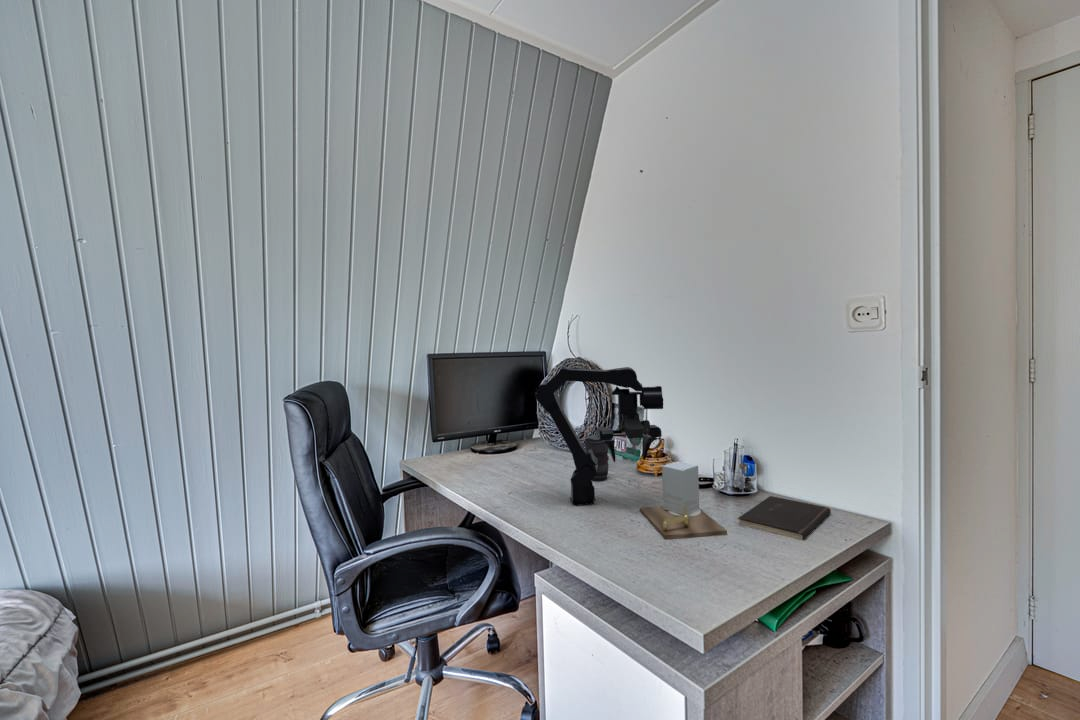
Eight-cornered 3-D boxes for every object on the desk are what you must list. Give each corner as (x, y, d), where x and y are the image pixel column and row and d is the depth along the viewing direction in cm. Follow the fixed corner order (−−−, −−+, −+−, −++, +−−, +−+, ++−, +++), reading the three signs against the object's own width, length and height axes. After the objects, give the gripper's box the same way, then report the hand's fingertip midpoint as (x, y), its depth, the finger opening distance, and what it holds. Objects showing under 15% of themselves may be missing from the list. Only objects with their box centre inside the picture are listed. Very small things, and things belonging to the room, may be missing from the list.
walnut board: (664, 539, 122) (664, 534, 122) (639, 511, 141) (639, 506, 141) (727, 534, 123) (726, 529, 123) (693, 507, 143) (693, 503, 143)
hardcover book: (737, 526, 130) (737, 517, 130) (770, 503, 146) (770, 495, 146) (803, 543, 118) (803, 533, 118) (830, 516, 135) (830, 507, 134)
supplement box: (700, 509, 138) (699, 465, 137) (683, 516, 133) (682, 470, 133) (678, 503, 143) (677, 460, 143) (662, 509, 139) (661, 465, 139)
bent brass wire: (677, 535, 121) (676, 523, 121) (662, 531, 124) (662, 519, 124) (698, 521, 130) (698, 509, 130) (684, 517, 133) (683, 506, 132)
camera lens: (595, 474, 180) (594, 433, 180) (613, 478, 175) (612, 436, 174) (581, 479, 175) (580, 437, 174) (599, 483, 169) (598, 440, 168)
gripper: (603, 415, 138) (605, 469, 139) (667, 411, 140) (668, 465, 141) (595, 409, 149) (596, 460, 150) (654, 406, 151) (655, 456, 152)
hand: (629, 460), depth 148 cm, fingers open, 9 cm apart
